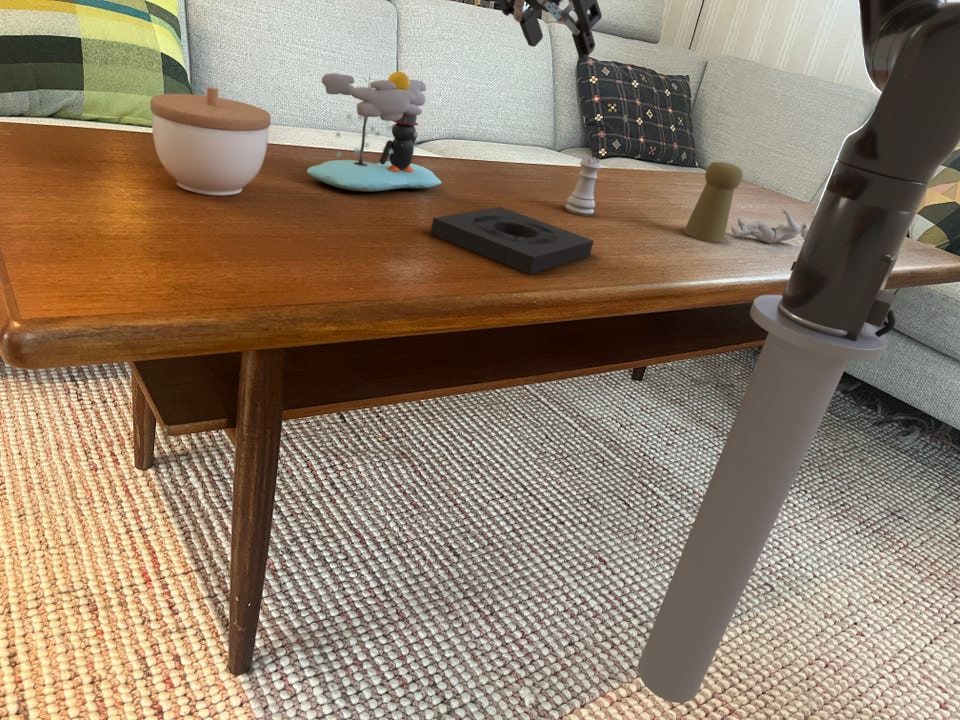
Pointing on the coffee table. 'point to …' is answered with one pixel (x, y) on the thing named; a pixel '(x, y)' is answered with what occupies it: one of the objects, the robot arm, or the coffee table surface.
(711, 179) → the brown game pawn
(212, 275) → the coffee table surface
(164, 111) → the lidded bowl
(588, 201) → the rook chess piece
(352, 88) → the penguin figurine
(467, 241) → the pad
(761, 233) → the soldier figure
